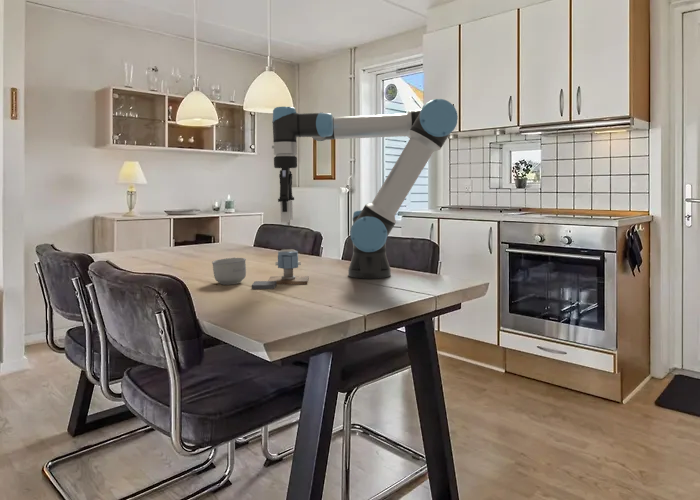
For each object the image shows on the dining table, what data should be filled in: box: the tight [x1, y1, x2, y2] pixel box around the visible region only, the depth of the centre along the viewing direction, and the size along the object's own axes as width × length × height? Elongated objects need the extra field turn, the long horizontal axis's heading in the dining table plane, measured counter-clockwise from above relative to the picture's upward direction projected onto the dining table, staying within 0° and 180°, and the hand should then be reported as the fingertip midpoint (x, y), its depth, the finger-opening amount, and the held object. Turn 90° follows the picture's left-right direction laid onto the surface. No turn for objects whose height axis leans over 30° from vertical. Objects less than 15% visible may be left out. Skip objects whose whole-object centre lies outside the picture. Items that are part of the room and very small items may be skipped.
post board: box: [267, 268, 309, 286], centre depth 179 cm, size 13×10×9 cm
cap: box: [275, 249, 302, 270], centre depth 179 cm, size 8×7×6 cm
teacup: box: [211, 257, 247, 286], centre depth 179 cm, size 14×11×8 cm
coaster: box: [251, 280, 278, 290], centre depth 171 cm, size 7×7×1 cm
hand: (287, 220), depth 177 cm, fingers open, 13 cm apart
